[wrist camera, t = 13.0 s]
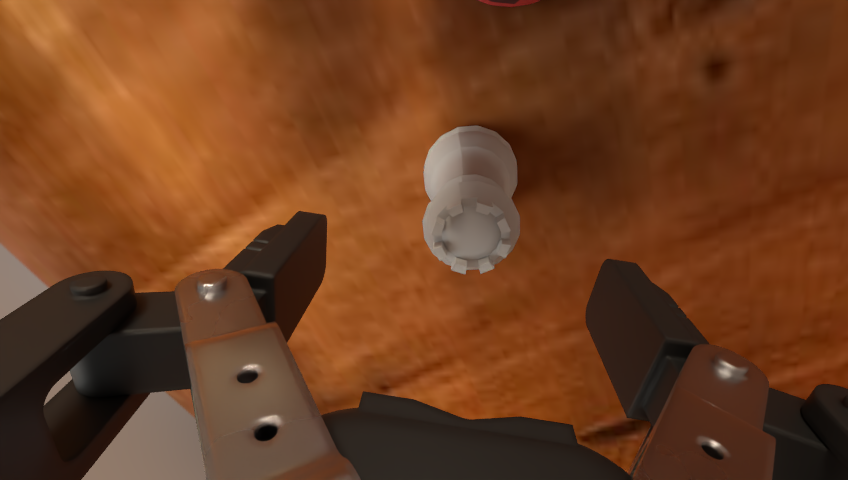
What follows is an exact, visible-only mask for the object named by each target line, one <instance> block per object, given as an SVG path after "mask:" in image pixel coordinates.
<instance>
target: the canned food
mask: <svg viewBox="0 0 848 480" xmlns="http://www.w3.org/2000/svg"><path fill="white" fill-rule="evenodd" d="M478 1H481V2H483V3H486V4H489V5H494V6H505V7H514V6H521V5H529V4H532V3H535V2H538V1H541V0H478Z"/></svg>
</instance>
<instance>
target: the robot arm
mask: <svg viewBox="0 0 848 480" xmlns="http://www.w3.org/2000/svg"><path fill="white" fill-rule="evenodd" d="M326 243H327V218H326V216H325V215H322V214H315V213H309V212H302V211H298V212H297V213H296V214H295V215H294V216H293V217H292V218H291V219H290V220H289V221H288V223H287V224H286V225H276V226H273V227H271V228H269V229H266V230H264V231H262V232H261V233H260V234H259V235H258V236H257V237H256V238H255V239H254V241H253V242H251V243H250V244H249V245H248V246H247V247H246V249H243V250H242V251H241V252H240V253H239V254H238V255H237V256H236V257H235V258H234V259H233V260H232V261H231V262H230V263H229V264H228V265H227V266H226V267H224V268H223V269H211V270H205V271H200V272H197V273H194V274H192V275H189V276H187V277H185V278H184V279H182V280H181V281H180V282H179V283H178V284H177V286H176V288H175V291H172V292H149V293H135V291H134V286H133V281H132V279H131V277H129V276H128V275H126V274H124V273H121V272H116V271H94V272H88V273H83V274H79V275H75V276H72V277H69V278H67V279H64V280H62V281H60V282H58V283H56V284H55V285H53V286H51V287H50V288H48V289H47V290H45V291H44V292H42V293H41V294H39V295H38V296H36V297H35V298H33V299H31V300H30V301H28V302H27V303H25V304H24V305H22V306H21V307H19V308H18V309H16V310H15V311H13V312H11V313H10V314H8V315H7V316H5V317H4V318H2V319H1V320H0V480H81V479H82V478H83V477H84V475H85V474H86V473H87V472H88V471H89V469H90V468H91V467H92V466H93V464H94V463H95V462H96V461H97V459H98V458H99V457H100V456H101V454H102V453H103V452H104V451H105V449H106V448H107V447H108V445H109V444H110V443H111V442H112V440H113V439H114V438H115V437H116V435H117V434H118V433H119V432H120V430H121V429H122V428H123V426H124V425H125V424H126V423H127V422H128V420H129V419H130V418H131V417H132V415H133V414H134V413H135V412H136V410H137V409H138V408H139V407H140V405H141V404H142V403H143V401H144V400H145V399H146V398H147V397H148V395H149V394H150V393H151V392H161V391H172V390H182V389H191V395H192V401H193V406H194V412H195V418H196V423H197V429H198V435H199V440H200V446H201V451H202V457H203V463H204V468H205V475H206V480H848V389H846V388H843V387H840V386H836V385H830V384H821V385H818V386H816V388H815V389H814V390H813V392H812V393H811V394H810V396H809V397H808V398H807V400H804V399H801V398H798V397H795V396H793V395H790V394H787V393H784V392H781V391H778V390H775V389H772V388H769V382H768V379H767V378H766V376H765V375H764V373H763V372H762V371H761V370H760V369H759V368H758V367H757V366H755V365H754V364H753V363H752V362H750V361H749V360H747V359H746V358H744V357H742V356H740V355H738V354H736V353H734V352H732V351H730V350H728V349H725V348H722V347H719V346H715V345H710V344H709V343H708V342H707V340H706V339H705V338H704V337H703V335H702V334H701V333H700V332H699V331H698V329H697V328H696V327H695V326H694V324H693V323H692V322H691V321H690V320H689V318H686V315H685V314H684V312H683V311H682V310H681V309H680V308H678V305H677V304H676V303H675V301H674V300H673V299H672V298H671V296H670V295H669V294H668V293H666V292H665V291H664V290H662V289H661V288H659V287H658V286H657V285H655V284H654V283H652V282H651V281H650V280H649V278H648V277H647V276H646V275H645V273H644V272H643V271H642V270H641V268H640V267H639V266H638V265H637V264H636V263H632V262H626V261H619V260H612V259H607V260H605V261H604V263H603V264H602V266H601V269H600V271H599V274H598V277H597V280H596V282H595V285H594V288H593V290H592V293H591V296H590V298H589V301H588V304H587V308H586V325H587V328H588V330H589V332H590V334H591V337H592V339H593V341H594V343H595V346H596V348H597V350H598V352H599V355H600V357H601V359H602V362H603V364H604V366H605V368H606V371H607V373H608V375H609V377H610V380H611V382H612V384H613V386H614V389H615V391H616V393H617V396H618V398H619V400H620V402H621V405H622V407H623V409H624V411H625V414H626V416H627V418H632V419H639V420H645V421H650V423H651V427H650V429H649V431H648V432H647V434H646V436H645V438H644V440H643V442H642V444H641V447H640V449H639V451H638V453H637V455H636V457H635V459H634V461H633V463H632V465H631V467H630V469H629V471H628V473H626V472H625V471H624V470H623V469H622V468H620V467H619V466H617V465H616V464H615V463H613V462H612V461H610V460H609V459H607V458H605V457H604V456H602V455H600V454H599V453H597V452H595V451H593V450H591V449H589V448H587V447H585V446H583V445H580V444H578V443H577V439H576V436H575V432H574V429H573V425H570V424H563V423H557V422H551V421H545V420H538V419H532V418H526V417H507V418H491V419H475V420H469V419H464V418H461V417H458V416H456V415H453V414H450V413H448V412H445V411H443V410H440V409H437V408H435V407H432V406H430V405H427V404H424V403H422V402H419V401H416V400H413V399H407V398H401V397H395V396H388V395H382V394H376V393H370V392H363V394H362V397H361V401H360V404H359V408H350V409H344V410H338V411H334V412H331V413H327V414H324V415H321V414H320V412H319V410H318V408H317V406H316V404H315V402H314V400H313V398H312V395H311V393H310V391H309V389H308V387H307V385H306V383H305V381H304V379H303V376H302V374H301V372H300V370H299V368H298V366H297V364H296V362H295V360H294V357H293V355H292V353H291V351H290V349H289V347H288V345H287V342H288V340H289V338H290V337H291V335H292V333H293V331H294V330H295V328H296V326H297V325H298V323H299V321H300V319H301V318H302V316H303V314H304V312H305V311H306V309H307V307H308V306H309V304H310V302H311V300H312V299H313V297H314V295H315V293H316V292H317V290H318V288H319V287H320V285H321V283H322V280H323V277H324V273H325V268H326ZM68 371H70V373H71V376H72V380H71V381H70V382H69V383H68V384H67V385H66V386H65V387H64V388H62V390H60V391H59V392H58V393H57V394H56V395H55V396H54V397H53V398H52V399H51V400H50V401H49V402H48V403H46V405H44V402H45V399H46V397H47V395H48V393H49V391H50V390H51V388H52V387H53V386H54V385H55V384H56V382H58V381H59V380H60V379H61V378H62V377H63V376H64V375H65V374H66V373H67V372H68Z"/></svg>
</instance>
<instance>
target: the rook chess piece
mask: <svg viewBox="0 0 848 480" xmlns="http://www.w3.org/2000/svg"><path fill="white" fill-rule="evenodd" d="M423 173H424V183H425V190H426V192H427V194H428V196H429V198H430V200H431V202H430V203H429V204H428V206H427V209H426V212H425V215H424V218H423V221H422V222H423V231H424V239H425V241H426V243H427V244H428V246H429V248H430V250H431V251H432V253H433V254H434V255H435V256H437V257H438V259H439V261H440V260H442V261H443V262H444V263H445V264H447V265H450V266H451V270H453V271H456V272H459V273H462V274H466V270H477V269H479V270H480V274H482V273H484V272H487V271H489V270H492V269H494V264H497V263H499V262H500V261H501V260H503V259H504V258H506V256H507V255H508V254H509V253H510V252H511V251H512V250H513V248H514V246H515V244H516V242H517V239H518V237H519V235H520V216H519V213H518V211H517V209H516V207H515V205H514V203H513V200H512V199H511V198H512V195H513V193H514V191H515V188H516V186H517V160H516V158H515V156H514V153H513V151H512V149H511V147H510V144H509V143H508V142H507V141H505V140H504V139H503V138H502V137H501V136H500V135H499V134H498V133H497V132H495V131H492V130H489V129H486V128H483V127H480V126H465V127H457V128H455V129H453V130H451V131H449V132H448V133H446V134H444V135H442V136H441V137H440V138H439V139H438V140H437V141H436V142H435V144H434V145H433V146H432V147H431V148H430V150H429V152H428V155H427V159H426V162H425V165H424V172H423Z"/></svg>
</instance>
